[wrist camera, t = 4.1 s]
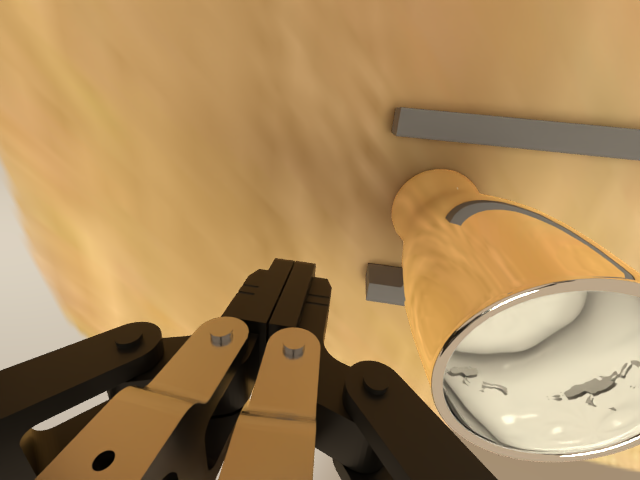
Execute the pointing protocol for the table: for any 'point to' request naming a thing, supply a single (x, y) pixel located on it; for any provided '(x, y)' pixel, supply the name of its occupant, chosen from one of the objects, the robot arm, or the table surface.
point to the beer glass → (519, 323)
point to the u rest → (504, 133)
